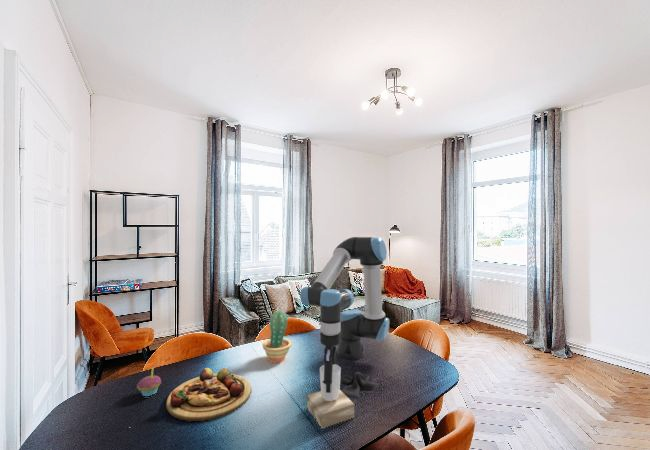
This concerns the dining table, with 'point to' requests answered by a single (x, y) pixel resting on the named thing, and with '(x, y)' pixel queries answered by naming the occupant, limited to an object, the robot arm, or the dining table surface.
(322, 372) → the white cup
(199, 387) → the wooden plate with food
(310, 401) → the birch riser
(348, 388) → the cloth
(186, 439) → the dining table surface
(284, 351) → the potted cactus
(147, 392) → the cupcake
